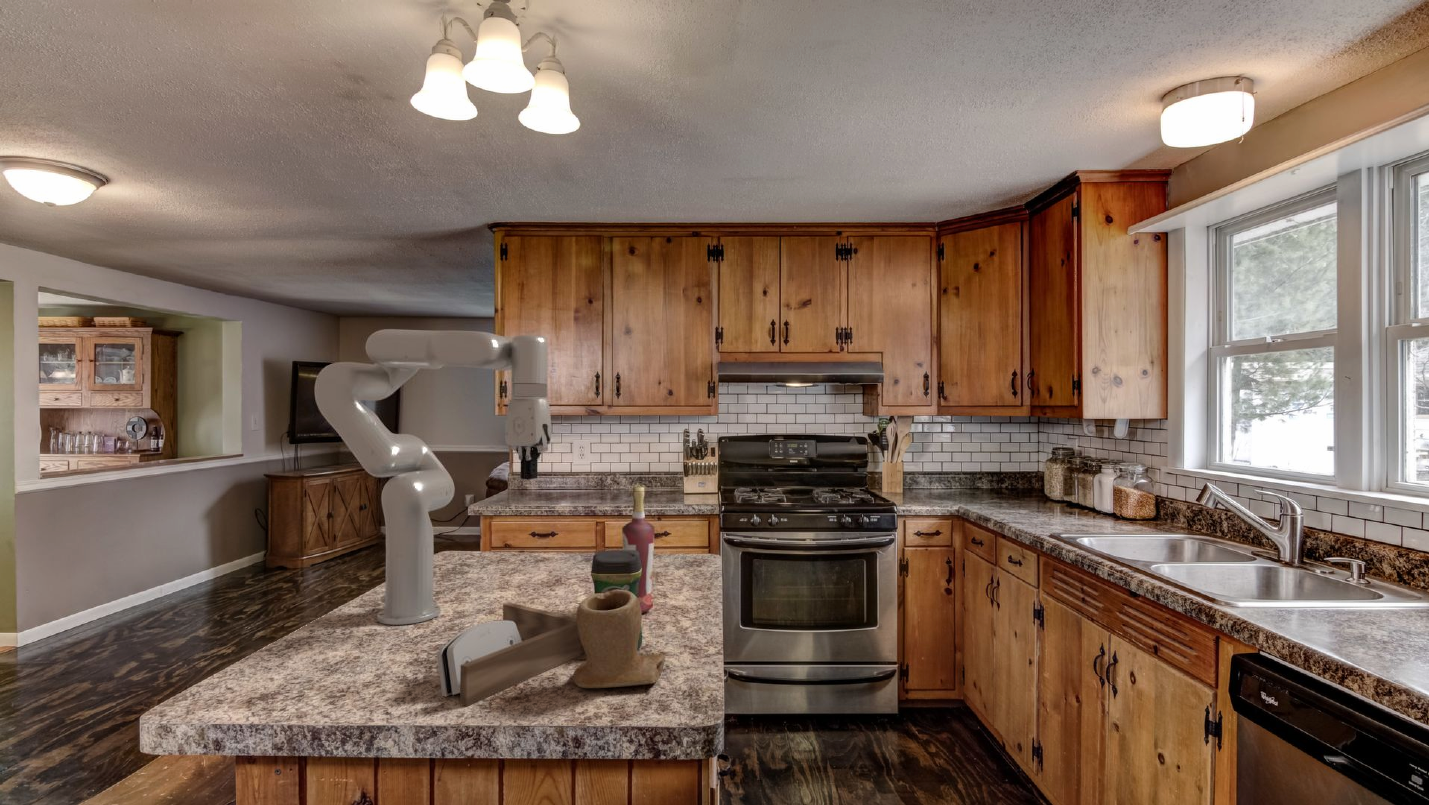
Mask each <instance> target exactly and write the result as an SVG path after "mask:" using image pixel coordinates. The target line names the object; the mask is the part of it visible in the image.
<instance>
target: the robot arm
mask: <svg viewBox="0 0 1429 805" xmlns="http://www.w3.org/2000/svg"><path fill="white" fill-rule="evenodd" d="M548 345H549V344H548V340H547V339H546V338H545V337H544V336H542V335H536V334H519V335H515V336H513V338H512V337H507V336H504V335H503V336H502V335H499V334H495V333H491V332H486V331H477V330H476V331H474V330H421V329H420V330H419V329H398V328H397V329H394V328H389V329H386V328H384V329H380V330H377V331H375V332H373V333H372V334H370V335H369V336H368V338H367V340H366V343H365V352H366V354H367V356H368V358H369V359H370V360H371V361H372V362H373V363H374V364H370V363H363V362H353V361H340V362H333V363H331V364H329V365H325V367H324V368H322V369H321V370H320V371H319V373H318V375H317V377H316V379H315V383H314V399H315V400H314V401H315V403H316V405H317V408H318V410H319V412H320V414H321V415H322V416H323V417H324V419H325V420H326V422H328V424H329V425H330V426H331V427H332V428H333V429H334V430H335V431H336V433H337V434H338V435H339V436H340V438H341V439H342V441H343V443H345V445H346V446H347V447H348V449H349V450H350V452H351V453H352V454H353V455H354V457H355V459H357V461H358V462H359V463H360V465H361V466H362V468H363V469H364V470H365V472H367V474H369V475H371V476H372V477H375V478H388V477H392V478H390V479H389V480H388V481H387V482H386V483H385V485H384V486H383V489H382V491H381V496H380V497H381V507H382V512H383V516H384V522H385V523H384V524H385V594H384V595H382V596H381V597H380V600H379V601H380V602H381V603H384V609H382V610H380V611H379V612H378V613H377V615H376V621H378V622H379V623H380V624H384V625H393V626H400V625H402V626H403V625H411V624H417V623H422V622H426V621H429V620H431V619H434V618H436V617H438V616H439V615H440V614H441V611H442V610H441V609H442V608H441V606H440V605H439V604H436V603H434V561H435V560H434V559H435V558H434V556H435V554H434V550H435V549H434V547H435V546H434V539H435V538H434V537H435V536H434V535H435V534H434V526H433V524H432V521H431V518H430V515H429V513H430V512H432V511H436V510H441V509H442V508H444V507H446V506H447V505H449V504H450V502H451V501H452V500H453V498H454V496H455V490H456V489H455V484H454V480H453V478H452V476H451V475H450V473H449V472H448V470H447V469H446V467H445V466H444V465H443V464H442V462H441V460H439V459H438V458H437V456H436V455H435V454H434V452H433V451H432V449H431V448H430V447H429V446H428V445H427V444H426V442H424V441H423V440H422V439H421V438H420V437H418V436H415V435H413V434H408V433H393V432H391V431H390V430H389V429H388V428H387V427H386V426H385V425H384V423H383V421H381V420H380V418H379V417H378V415H377V414H376V412H373V410H371V409H370V408H369V407H367V406H366V405H365V404H363V402H361V401H372V402H373V401H375V402H377V401H382V400H384V399H387V398H388V397H390V396H391V395H393V394H394V393H395V392H396V391H397V390H399V388H401V387H402V386H403V385H404V384H405V383H406V382H407V381H408V380H410V379H411V378H412V377H413V376H414V375H415V374H416V373H417V372H418V371H419V370H420V369H423V370H439V369H442V368H443V367H462V368H463V367H464V368H466V367H467V368H476V369H478V368H479V369H488V370H493V371H499V372H501V371H502V372H503V371H504V372H505V371H510V374H511V375H510V376H511V377H510V378H511V379H510V381H511V382H510V384H511V385H510V386H511V387H510V389H511V390H510V399H509V400H508V405H507V411H506V417H505V434H504V436H505V437H504V440H505V444H506V445H509V446H510V450H512V451H514V452H516V453H517V454H518V460H519V461H520V479H521V480H535V479H537V478H538V461H539V460H540V457H541V455H542V453H545V452H548V451H549V444H550V443H551V440H552V419H551V418H552V417H551V408H550V402H549V399H548V374H549V373H548V372H549V371H548V368H549V367H548V366H549V365H548V363H549V362H548V361H549V359H548V358H549V357H548V356H549V355H548V354H549V351H548V349H549V346H548Z"/></svg>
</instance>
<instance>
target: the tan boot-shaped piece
mask: <svg viewBox="0 0 1429 805" xmlns="http://www.w3.org/2000/svg"><path fill="white" fill-rule="evenodd" d="M576 618H577V626H578V633H579V637H580V640H581V643H582V645H583V648H584V650H585V653H586V654H585V656H586V657H585V658H586V661H583V662H582V663H580V665H579V666H577V668H576V669H575V670H574V672H573V675H572V676H573V677H572V680H573V682H574V683H575V684H576V685H577V687H580V688H584V689H606V688H607V689H608V688H620V687H630V686H631V687H633V686H640V685H641V686H642V685H649V684H650V685H651V684H655V683H656V682H658V680H659V678H660V677H661V675H662V672H663V670H664V666H665V660H666V654H639V652H638V650H637V647H638V640H639V634H640V628H641V627H642V618H643V616H642V614H641V607H640V603H639V601H638V598H637V597H636V596H635V595H634V594H633V593H631V592H629V591H626V590H612V591H609V592H606V593H597V594H594V593H593V594H591V595H589V596H587V597H585V598H584V599H583V600H582V601H581V602H580V603H579V604H578V606H577V609H576Z"/></svg>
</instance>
